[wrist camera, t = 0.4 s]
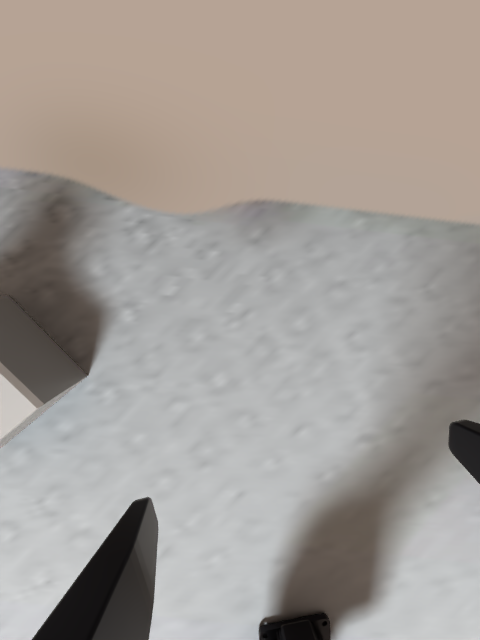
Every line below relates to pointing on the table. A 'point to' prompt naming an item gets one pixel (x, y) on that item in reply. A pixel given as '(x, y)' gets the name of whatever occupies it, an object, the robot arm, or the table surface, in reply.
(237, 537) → the table surface
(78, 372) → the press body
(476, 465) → the robot arm
